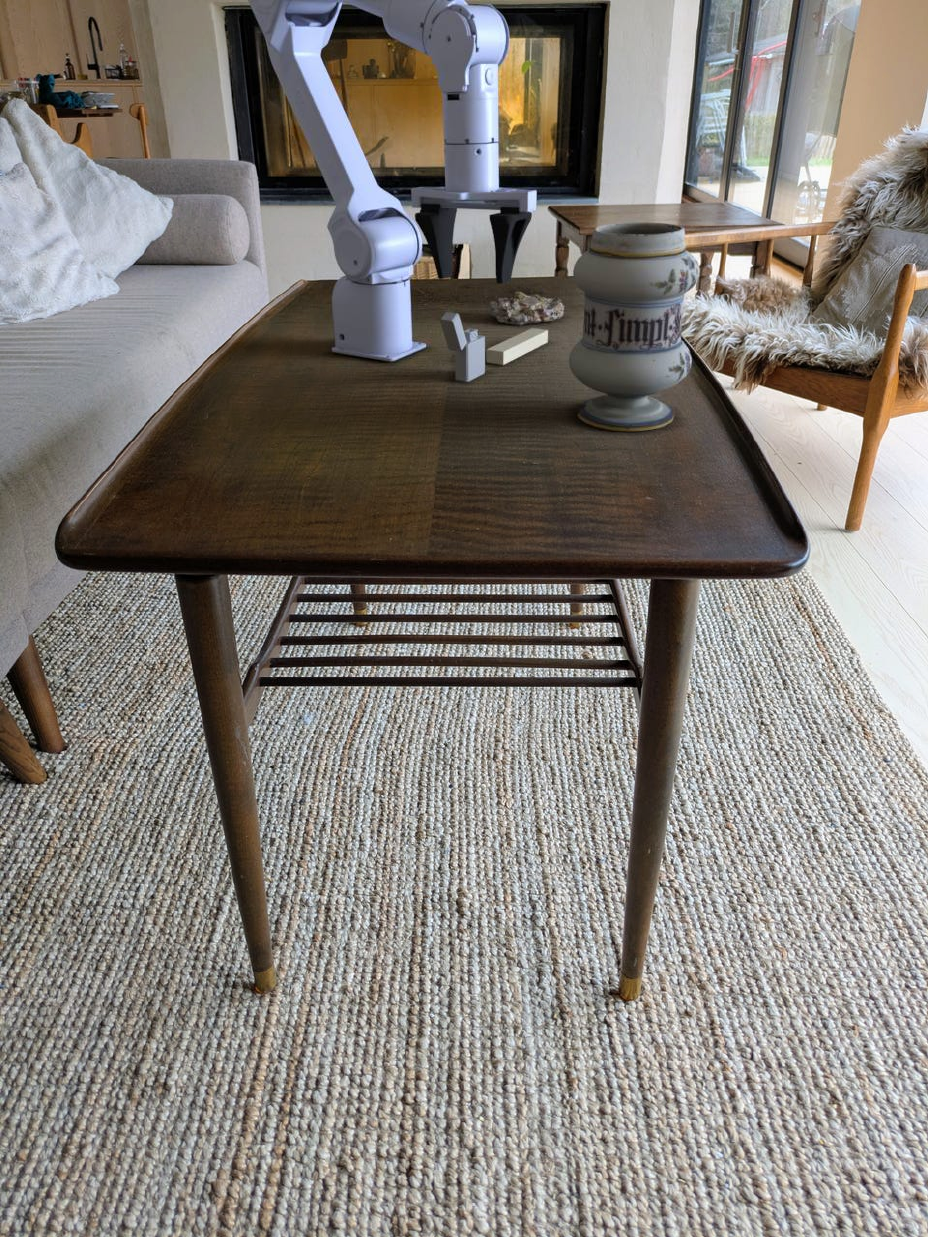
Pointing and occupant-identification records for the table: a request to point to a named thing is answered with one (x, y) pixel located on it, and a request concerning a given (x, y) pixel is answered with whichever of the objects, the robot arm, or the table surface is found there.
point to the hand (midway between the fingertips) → (474, 279)
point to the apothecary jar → (632, 323)
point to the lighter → (464, 347)
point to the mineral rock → (526, 309)
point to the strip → (516, 346)
